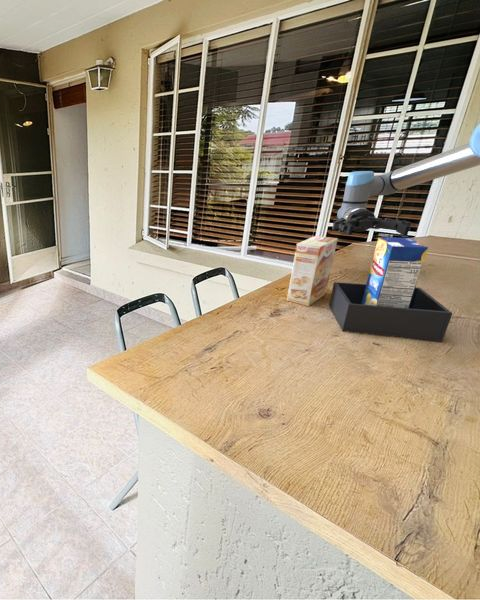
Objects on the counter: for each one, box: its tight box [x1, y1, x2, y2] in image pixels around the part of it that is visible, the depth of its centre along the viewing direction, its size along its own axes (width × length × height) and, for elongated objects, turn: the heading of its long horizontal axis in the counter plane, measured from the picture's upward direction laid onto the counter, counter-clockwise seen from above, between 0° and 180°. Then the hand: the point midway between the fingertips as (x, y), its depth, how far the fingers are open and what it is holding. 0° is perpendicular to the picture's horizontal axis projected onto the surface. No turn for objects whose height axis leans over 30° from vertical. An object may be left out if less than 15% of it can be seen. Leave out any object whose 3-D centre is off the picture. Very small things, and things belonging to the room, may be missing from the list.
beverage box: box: [361, 236, 429, 308], centre depth 94 cm, size 7×11×22 cm, turn 156°
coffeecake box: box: [286, 235, 339, 307], centre depth 114 cm, size 15×7×20 cm, turn 129°
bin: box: [328, 281, 453, 343], centre depth 97 cm, size 21×19×8 cm
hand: (378, 230), depth 106 cm, fingers open, 13 cm apart
